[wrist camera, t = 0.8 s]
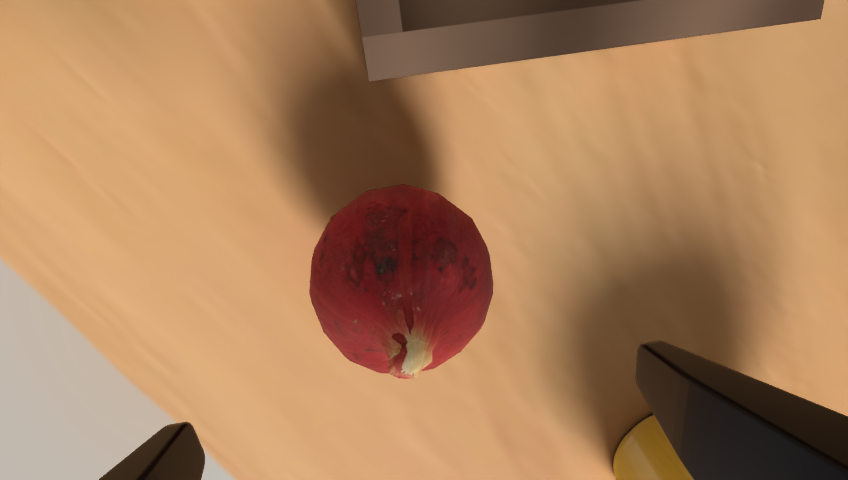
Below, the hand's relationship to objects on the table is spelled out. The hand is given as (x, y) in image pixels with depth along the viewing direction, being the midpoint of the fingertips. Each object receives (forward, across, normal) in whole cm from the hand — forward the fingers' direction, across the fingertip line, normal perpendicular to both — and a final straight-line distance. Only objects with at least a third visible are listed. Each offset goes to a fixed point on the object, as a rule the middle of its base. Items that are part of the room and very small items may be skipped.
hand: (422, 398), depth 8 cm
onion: (+10, 0, 0) cm, 10 cm away
